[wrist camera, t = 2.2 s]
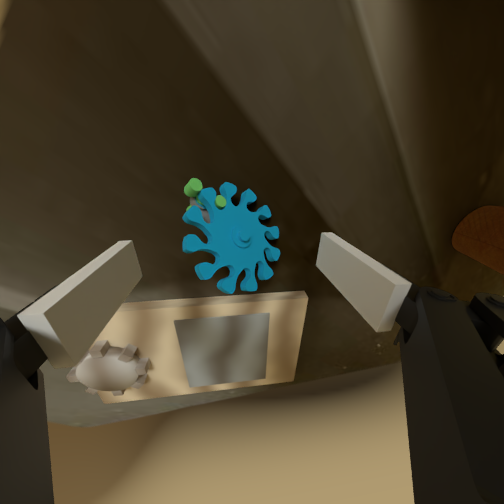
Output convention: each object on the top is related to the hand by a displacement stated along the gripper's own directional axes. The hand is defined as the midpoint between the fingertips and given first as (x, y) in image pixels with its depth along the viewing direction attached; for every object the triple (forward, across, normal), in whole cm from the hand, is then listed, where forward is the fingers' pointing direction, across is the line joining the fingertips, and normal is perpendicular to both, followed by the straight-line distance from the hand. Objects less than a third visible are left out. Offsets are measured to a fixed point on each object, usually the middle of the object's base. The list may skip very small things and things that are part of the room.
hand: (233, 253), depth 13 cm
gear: (+8, 0, 0) cm, 8 cm away
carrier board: (+8, -6, -19) cm, 21 cm away
